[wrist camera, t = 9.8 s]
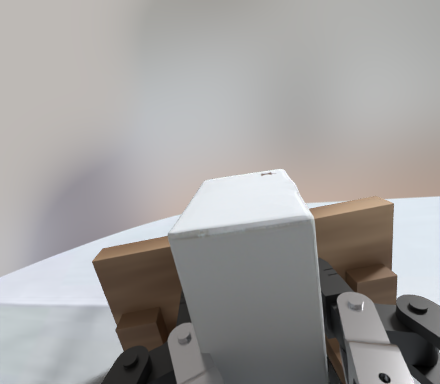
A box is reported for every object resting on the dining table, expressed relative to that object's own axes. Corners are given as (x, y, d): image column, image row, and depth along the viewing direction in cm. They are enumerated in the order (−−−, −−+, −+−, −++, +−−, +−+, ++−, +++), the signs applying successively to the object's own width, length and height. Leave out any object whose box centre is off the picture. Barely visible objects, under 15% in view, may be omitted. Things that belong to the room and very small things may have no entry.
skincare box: (239, 353, 16) (202, 178, 12) (306, 351, 15) (286, 166, 12) (233, 491, 10) (160, 232, 7) (342, 500, 9) (322, 213, 6)
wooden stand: (517, 462, 10) (571, 279, 7) (86, 547, 10) (-17, 393, 7) (374, 307, 18) (376, 196, 15) (141, 352, 18) (102, 248, 15)
